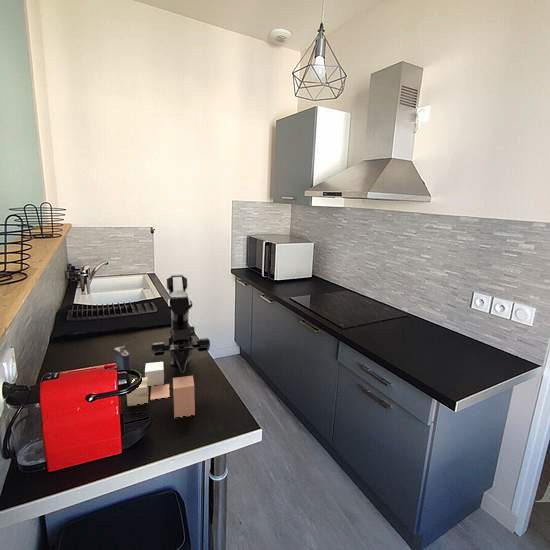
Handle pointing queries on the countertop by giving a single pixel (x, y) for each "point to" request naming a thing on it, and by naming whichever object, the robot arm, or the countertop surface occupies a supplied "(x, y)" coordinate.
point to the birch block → (139, 393)
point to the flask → (122, 358)
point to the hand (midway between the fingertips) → (182, 372)
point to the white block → (155, 373)
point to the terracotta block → (183, 396)
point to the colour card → (160, 392)
